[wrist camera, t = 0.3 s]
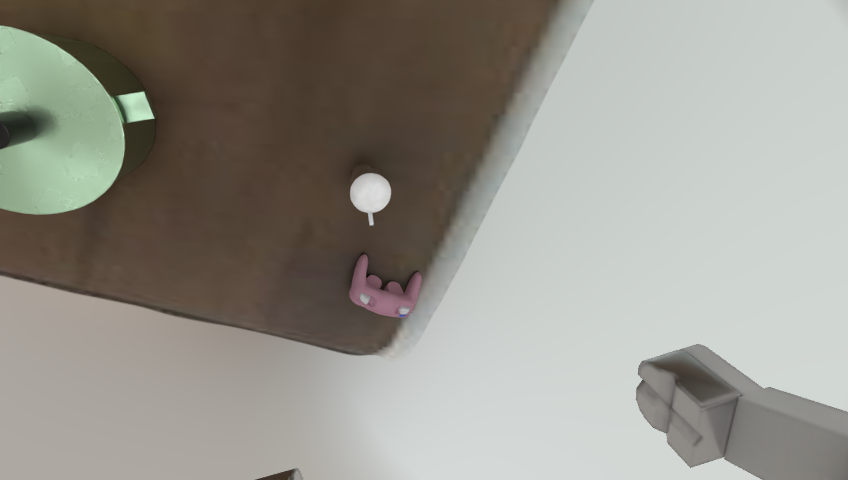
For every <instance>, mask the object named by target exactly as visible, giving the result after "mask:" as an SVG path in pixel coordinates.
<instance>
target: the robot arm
mask: <svg viewBox="0 0 848 480" xmlns="http://www.w3.org/2000/svg"><path fill="white" fill-rule="evenodd" d="M638 375H639V376H640V377H641V378H642V379H643V380H642V381H641V383H640V384H639V386H638V387H637V390H636V400H637V403H638V406H639V409H640V411H641V412H642V414H643V416H644V417H645V419H646V420H647V421H648V422H649V424H650V425H651V426H652V427H653V428H655V429H657V430H659V431H662V432H664V433H666V435H667V442H668V444H669V445H670V446H671V447H672V449H673V450H674V451H675V452H676V453H677V454H678V455H679V456H680V457H681V458H682V459H683V460H684V461H685V463H687V465H688V466H689V467H690V468H691V467H694V466H697V465H701V464H704V463H707V462H710V461H713V460H716V459H719V458H722V457H725V458H724V459H725V460H727V461H729V462H730V463H732V464H734V465H736V466H738V467H740V468H742V469H743V470H745V471H747V472H749V473H751V474H753V475H755V476H756V477H759V478H760V479H762V480H848V412H846V411H843V410H840V409H837V408H833V407H831V406H827V405H824V404H821V403H818V402H815V401H812V400H808V399H805V398H802V397H799V396H796V395H793V394H790V393H786V392H783V391H780V390H777V389H774V388H771V387H768V388H765V389H764V388H762V387H761V386H759V385H758V384H757V383H755V382H754V381H752V380H751V379H750V378H748V377H747V376H746V375H744V374H743V373H741V372H740V371H739V370H737V369H736V368H735V367H733V366H731V364H729V363H728V362H726V361H725V360H724V359H722V358H721V357H720V356H718V355H717V354H715V353H714V352H713V351H711V350H710V349H708V348H707V347H705V346H703V345H700V344H696V345H693V346H690V347H687V348H683V349H680V350H676V351H673V352H670V353H666V354H664V355H660V356H657V357H654V358H651V359H648V360H645V361H642V362H641V364H640V365H639V368H638ZM257 480H303V477H302V475H301V473H300V471H299V469H298V468H296V469H292V470H289V471H285V472H281V473H278V474H274V475H271V476H267V477H263V478H260V479H257Z"/></svg>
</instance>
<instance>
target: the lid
mask: <svg viewBox="0 0 848 480" xmlns="http://www.w3.org/2000/svg"><path fill="white" fill-rule="evenodd" d="M126 153H127V134H126V129H125V124H124V121H123V118H122V115H121V112H120V110H119V108H118V106H117V104H116V102H115V100H114V98H113V96H112V95H111V93H110V92H109V90H108V89H107V87H106V86H105V85H104V83H103V82H102V81H101V80H100V79H99V77H98V76H97V75H96V74H95V73H94V72H93V71H92V70H91V69H90V68H89V67H88V66H87V65H86V64H85V63H83V62H82V61H81V60H80V59H78V58H77V57H76V56H75V55H73V54H72V53H70V52H69V51H67V50H66V49H64V48H63V47H61V46H59V45H58V44H56V43H54V42H52V41H50V40H48V39H46V38H44V37H41V36H39V35H36V34H34V33H31V32H28V31H25V30H22V29H18V28H15V27H9V26H4V25H0V208H2V209H5V210H9V211H14V212H19V213H27V214H55V213H63V212H67V211H71V210H75V209H78V208H80V207H83V206H85V205H87V204H89V203H91V202H93V201H94V200H96V199H98V198H99V197H100V196H102V195H103V194H104V193H105V192H107V191H108V190H109V189H110V187H111V186H112V185H113V184H114V183H115V181H116V180H117V178H118V177H119V175H120V173H121V171H122V168H123V166H124V163H125V159H126Z"/></svg>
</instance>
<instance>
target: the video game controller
mask: <svg viewBox="0 0 848 480" xmlns="http://www.w3.org/2000/svg"><path fill="white" fill-rule="evenodd" d="M367 267H368V258H367V256H366V255H365V254H364V255H362V256H361V257H360V258H359V259H358V262H357V264H356V267H355V270H354V274H353V279H352V285H351V288H350V290H349V296H350V299H351V300H352V301H353V302H354V303H355V304H357V305H359V306H363V307H365V308H366V309H368V310H370V311H373V312H375V313H378V314H381V315H385V316H392V317H399V318H405V317H407V316H409V314H410V313H411V312H412V311H413V310H414V307H415V305H416V302H417V298H418V295H419V290H420V286H421V275H420V273H419V272H416V273H414V275H413V276H412V277H411V279H410V281H409V283H408V285H407V288H406V291H405V292H403V291H402V289H401V286H400V285H399V284H398V283H397V282H393V281H392V282H389V283H388V284H387V286H386V287H385V289H384V290H381V289H379V288H380V287H381V285H382V282H381V280H380V279H379V278H378V277H377V276H375V275H370V276H369V277H367V279H366V273H367Z"/></svg>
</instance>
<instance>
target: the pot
mask: <svg viewBox="0 0 848 480" xmlns="http://www.w3.org/2000/svg"><path fill="white" fill-rule="evenodd" d="M34 34H36V35H39V36H41V37H44V38H46V39H48V40H50V41H52V42H54V43H56V44H58V45H59V46H61V47H63V48H64V49H66V50H67V51H69V52H70V53H72V54H73V55H75V56H76V57H77V58H78V59H80V60H81V61H82V62H83V63H85V64H86V65H87V66H88V67H89V68H90V69H91V70H92V71H93V72H94V73H95V74H96V75H97V76H98V77H99V79H100V80H101V81H102V82H103V83H104V85H105V86H106V87H107V89H108V90H109V92H110V93H111V95H112V96H113V98H114V100H115V102H116V104H117V106H118V108H119V110H120V112H121V115H122V118H123V121H124V124H125V129H126V134H127V153H126V159H125V163H124V166H123V168H122V171H121V173H120V175H119V177H118V178H117V180H118V179H120V178H122V177H123V176H125V175H126V174H128V173H129V172H131V171H132V170H134V169H135V168H137V167H138V166H140V165H141V164H142V163H143V161H144V159H145V158H146V157H147V155H148V154H149V152H150V150H151V148H152V145H153V142H154V138H155V131H156V123H155V118H157V117H158V116H157V113H156V111H155V108H154V106H153V103H152V101H151V98H150V96H149V93H148V91H145V89H144V88H143V86H142V84H141V83H140V82H139V80H138V79H137V78H136V77H135V75H134V74H133V73H132V72H131V71H130V70H129V69H128V68H127V67H126V66H125V65H123V64H122V63H121V62H120V61H119V60H117V59H116V58H114V57H113V56H112V55H110V54H109V53H107V52H105V51H103V50H101V49H100V48H98V47H95V46H93V45H92V44H90V43H86V42H82V41H79V40H75V39H70V38H65V37H61V36H57V35H48V34H38V33H34ZM117 180H116V181H117Z"/></svg>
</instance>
